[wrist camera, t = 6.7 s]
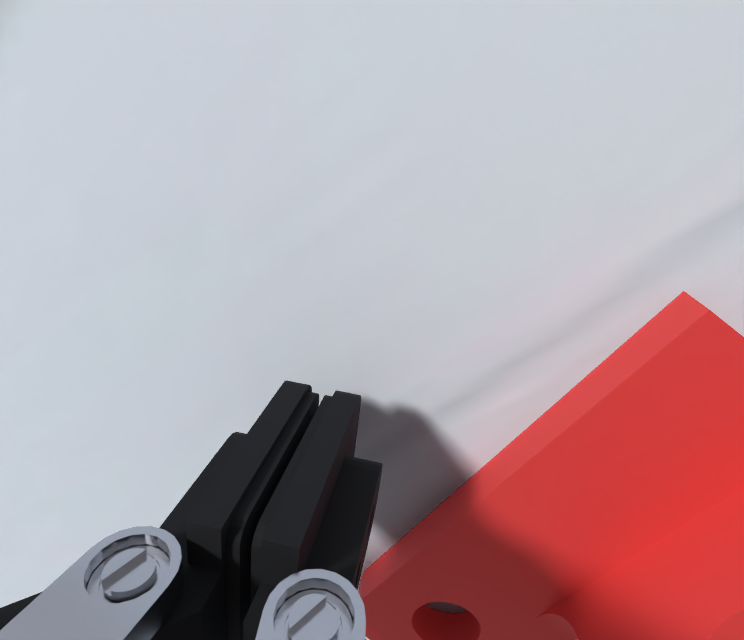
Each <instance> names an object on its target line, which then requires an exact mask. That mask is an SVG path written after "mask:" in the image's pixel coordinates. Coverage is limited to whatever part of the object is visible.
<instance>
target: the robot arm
mask: <svg viewBox="0 0 744 640" xmlns="http://www.w3.org/2000/svg"><path fill="white" fill-rule="evenodd" d="M360 404H361V396H360V395H356V394H351V393H346V392H341V391H335V393H334V395H333V397H332V396H327V395H325V396H324V398H323V400H322V401H321V403H320V405H319V394H317V393H312V388H311V386H310V385H306V384H301V383H296V382H291V381H285V382H284V383H283V384H282V386H281V387H280V388H279V390H278V391H277V393H276V394H275V395H274V397H273V398H272V400H271V401H270V402H269V404H268V405H267V407H266V408H265V409H264V411H263V412H262V414H261V415H260V416H259V418H258V419H257V421H256V422H255V423H254V425H253V426H252V428H251V429H250V431H249V432H248V433H247V434H244V433H239V432H235V433H233V434H232V435H231V436H230V437H229V438H228V439H227V440H226V442H225V443H224V444H223V446H222V447H221V448H220V449H219V451H218V452H217V453H216V455H215V456H214V457H213V459H212V460H211V461H210V463H209V464H208V465H207V466H206V468H205V469H204V470H203V472H202V473H201V474H200V476H199V477H198V478H197V480H196V481H195V482H194V483H193V485H192V486H191V487H190V489H189V490H188V491H187V493H186V494H185V495H184V497H183V498H182V499H181V500H180V502H179V503H178V504H177V506H176V507H175V508H174V510H173V511H172V512H171V513H170V515H169V516H168V517H167V519H166V520H165V521H164V523H163V524H162V525H161V527H160V528H156V527H152V526H146V527H133V528H129V529H125V530H122V531H119V532H117V533H115V534H113V535H110V536H108V537H106V538H104V539H103V540H102V541H100V542H99V543H97V544H96V545H95V546H93V547H92V548H91V549H90V550H88V551H87V552H86V553H85V554H84V555H83V556H82V557H81V558H80V559H78V560H77V561H76V562H75V563H74V564H73V565H72V566H71V567H70V568H69V569H67V570H66V571H65V572H64V573H63V574H62V575H61V576H60V577H59V578H58V579H56V580H55V581H54V582H53V583H52V584H51V585H50V586H49V587H48V588H46V589H45V590H44V591H43V592H41V593H38V594H36V595H33V596H30V597H28V598H25V599H23V600H20V601H17V602H15V603H12V604H10V605H7V606H5V607H2V608H0V640H366V639H365V631H366V617H365V607H364V603H363V601H362V599H361V597H360V594H359V592H358V591H357V589H358V584H359V580H360V576H361V571H362V567H363V563H364V558H365V554H366V550H367V545H368V541H369V537H370V532H371V528H372V523H373V518H374V513H375V508H376V503H377V497H378V491H379V485H380V478H381V472H382V464H381V463H377V462H372V461H368V460H363V459H358V458H354V452H355V444H356V436H357V428H358V420H359V412H360ZM318 406H319V407H318Z"/></svg>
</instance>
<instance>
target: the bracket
mask: <svg viewBox="0 0 744 640" xmlns="http://www.w3.org/2000/svg"><path fill="white" fill-rule="evenodd" d="M359 594H360V597H361V599H362V601H363V603H364V607H365V617H366V631H365V636H366V637H367V638H369V639H370V640H576V639H578V640H744V337H743V336H742V335H740V334H739V333H738V332H737V331H735V330H734V329H733V328H732V327H730V326H729V325H728V324H727V323H725V322H724V321H723V320H722V319H720V318H719V317H718V316H717V315H715V314H714V313H713V312H711V311H710V310H709V309H708V308H706V307H705V306H703V305H702V304H701V303H699V302H698V301H697V300H695V299H694V298H692V297H691V296H690V295H688V294H687V293H686V292H684V291H683V292H682V293H681V294H680V295H679V296H677V297H676V298H675V299H674V300H673V301H672V302H671V303H669V304H668V305H667V306H666V307H665V308H664V309H663V310H662V311H660V312H659V313H658V314H657V315H656V316H655V317H654V318H652V319H651V320H650V321H649V322H648V323H647V324H646V325H644V326H643V327H642V328H641V329H640V330H639V331H638V332H636V333H635V334H634V335H633V336H632V337H631V338H630V339H628V340H627V341H626V342H625V343H624V344H623V345H622V346H620V347H619V348H618V349H617V350H616V351H615V352H614V353H612V354H611V355H610V356H609V357H608V358H607V359H606V360H604V361H603V362H602V363H601V364H600V365H599V366H598V367H596V368H595V369H594V370H593V371H592V372H591V373H590V374H588V375H587V376H586V377H585V378H584V379H583V380H582V381H581V382H579V383H578V384H577V385H576V386H575V387H574V388H573V389H571V390H570V391H569V392H568V393H567V394H566V395H565V396H563V397H562V398H561V399H560V400H559V401H558V402H557V403H555V404H554V405H553V406H552V407H551V408H550V409H549V410H547V411H546V412H545V413H544V414H543V415H542V416H541V417H539V418H538V419H537V420H536V421H535V422H534V423H533V424H531V425H530V426H529V427H528V428H527V429H526V430H525V431H523V432H522V433H521V434H520V435H519V436H518V437H517V438H515V439H514V440H513V441H512V442H511V443H510V444H509V445H507V446H506V447H505V448H504V449H503V450H502V451H501V452H500V453H498V454H497V455H496V456H495V457H494V458H493V459H492V460H490V461H489V462H488V463H487V464H486V465H485V466H484V467H482V468H481V469H480V470H479V471H478V472H477V473H476V474H474V475H473V476H472V477H471V478H470V479H469V480H468V481H466V482H465V483H464V484H463V485H462V486H461V487H460V488H458V489H457V490H456V491H455V492H454V493H453V494H452V495H450V496H449V497H448V498H447V499H446V500H445V501H444V502H442V503H441V504H440V505H439V506H438V507H437V508H436V509H434V510H433V511H432V512H431V513H430V514H429V515H428V516H426V517H425V518H424V519H423V520H422V521H421V522H420V523H419V524H417V525H416V526H415V527H414V528H413V529H412V530H411V531H409V532H408V533H407V534H406V535H405V536H404V537H403V538H401V539H400V540H399V541H398V542H397V543H396V544H395V545H393V546H392V547H391V548H390V549H389V550H388V551H387V552H385V553H384V554H383V555H382V556H381V557H380V558H379V559H377V560H376V561H375V562H374V563H373V564H372V565H371V566H369V567H368V568H367V569H366V570H365V572H364V573H363V576H362V579H361V584H360V588H359ZM432 602H447V603H452V604H455V605H458V606H461V607H463V608H465V609H466V610H468V611H465V612H461V613H444V612H440V611H437V610H434V609H432V608H430V607H428V606H427V605H426V604H428V603H432Z"/></svg>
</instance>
